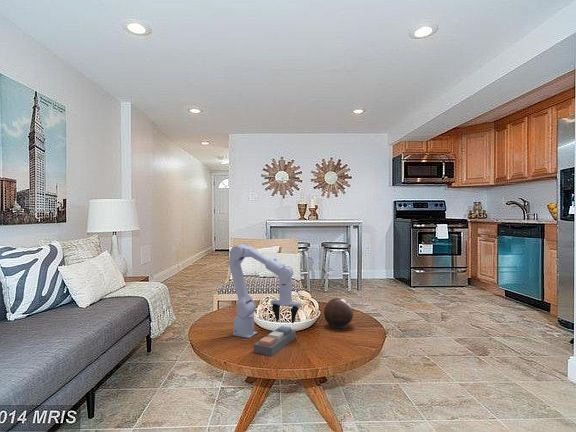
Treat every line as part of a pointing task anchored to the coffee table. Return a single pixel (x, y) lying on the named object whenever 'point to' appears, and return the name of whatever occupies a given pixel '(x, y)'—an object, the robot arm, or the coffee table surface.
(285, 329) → the blue key
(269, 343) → the terracotta key
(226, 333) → the coffee table surface
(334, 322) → the wooden sphere
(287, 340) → the key console
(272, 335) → the white key
